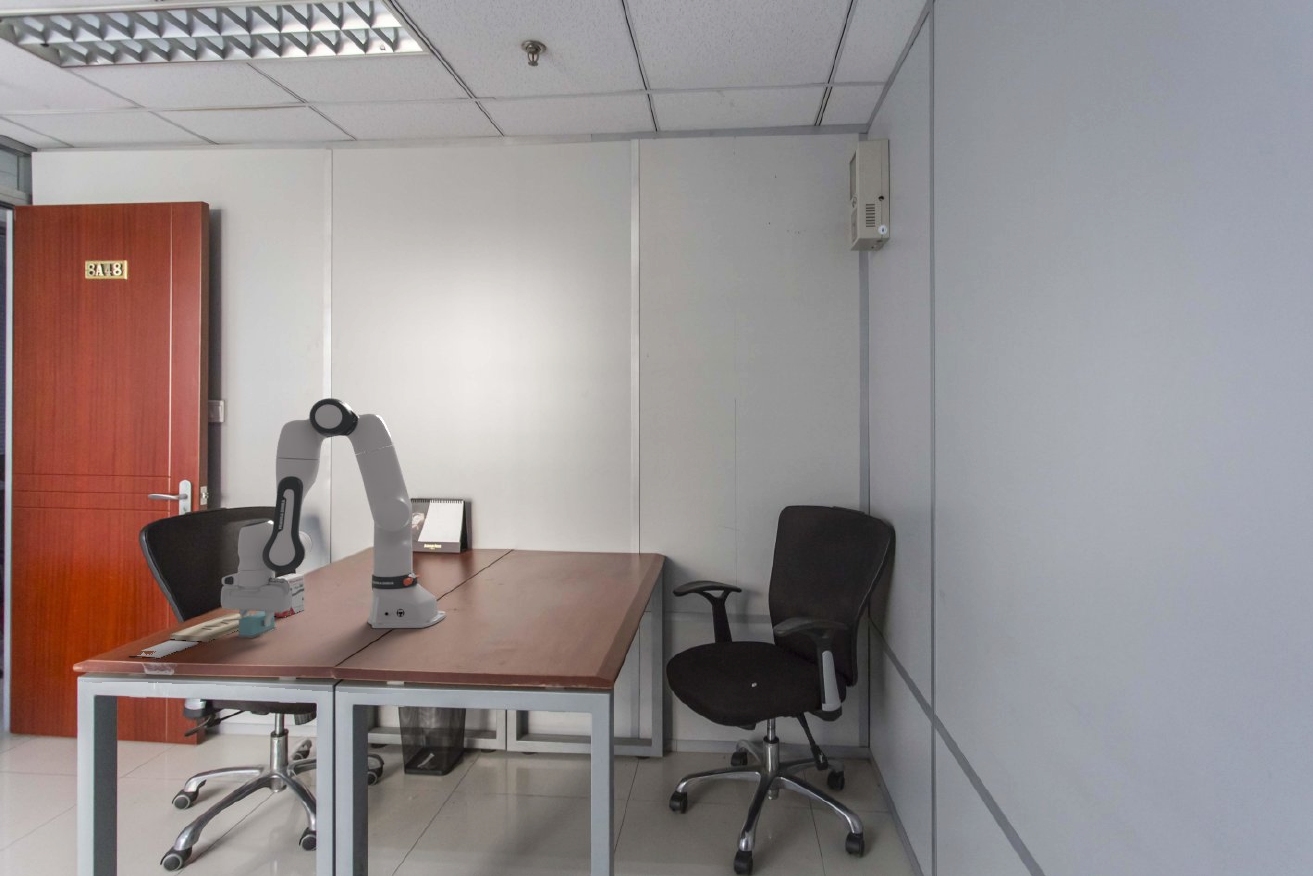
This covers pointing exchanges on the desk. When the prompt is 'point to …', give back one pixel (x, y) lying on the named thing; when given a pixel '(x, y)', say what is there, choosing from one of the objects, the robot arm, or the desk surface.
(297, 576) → the ink box
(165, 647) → the rest mat
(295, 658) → the desk surface
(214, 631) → the birch board
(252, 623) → the sanding block
